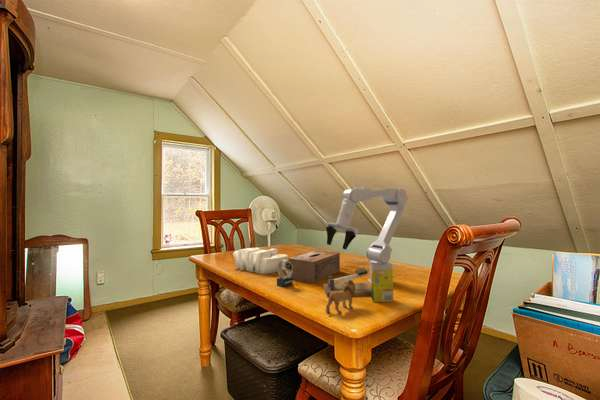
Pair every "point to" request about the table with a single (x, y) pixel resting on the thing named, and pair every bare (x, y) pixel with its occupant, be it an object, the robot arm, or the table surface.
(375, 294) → the crayon box
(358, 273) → the lever
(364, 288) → the base
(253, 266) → the wavy white extrusion
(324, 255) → the tissue box cover
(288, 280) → the watch
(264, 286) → the table surface
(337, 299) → the lion figurine
